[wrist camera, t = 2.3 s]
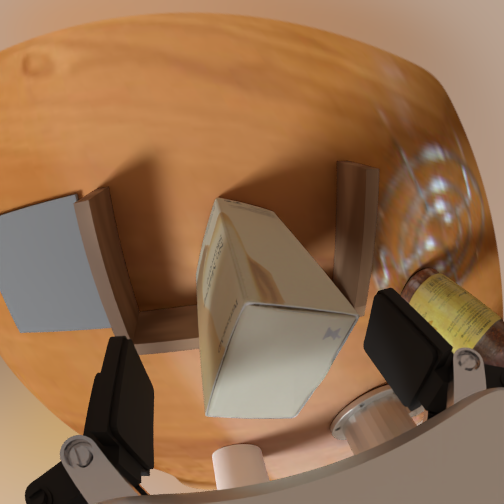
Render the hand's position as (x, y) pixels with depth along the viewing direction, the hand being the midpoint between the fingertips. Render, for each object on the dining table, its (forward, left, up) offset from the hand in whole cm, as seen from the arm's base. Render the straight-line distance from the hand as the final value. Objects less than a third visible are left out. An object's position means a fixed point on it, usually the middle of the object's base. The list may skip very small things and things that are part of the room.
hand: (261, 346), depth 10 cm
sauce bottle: (-19, +9, -11) cm, 24 cm away
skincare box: (0, +1, -11) cm, 11 cm away
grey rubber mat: (+16, +1, -11) cm, 19 cm away
